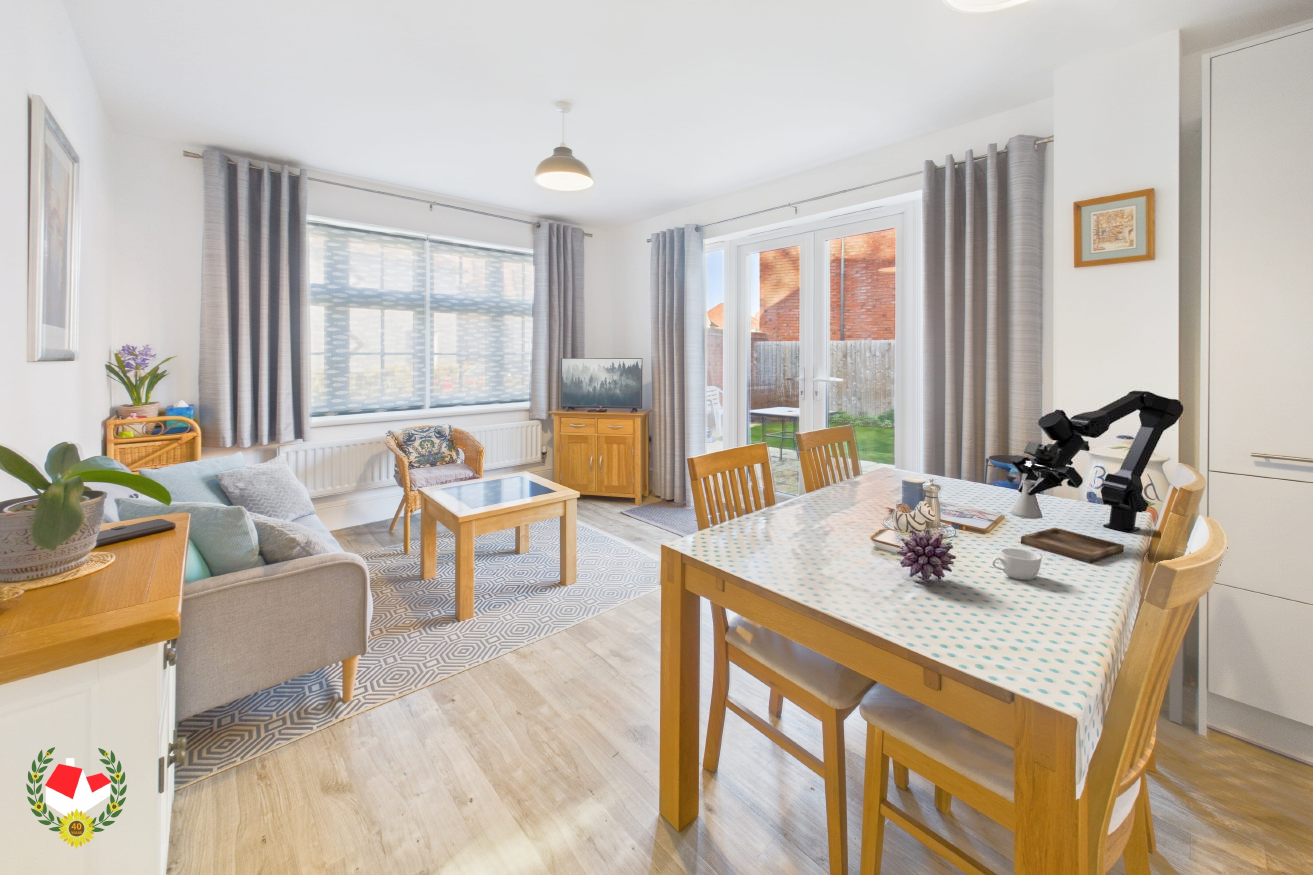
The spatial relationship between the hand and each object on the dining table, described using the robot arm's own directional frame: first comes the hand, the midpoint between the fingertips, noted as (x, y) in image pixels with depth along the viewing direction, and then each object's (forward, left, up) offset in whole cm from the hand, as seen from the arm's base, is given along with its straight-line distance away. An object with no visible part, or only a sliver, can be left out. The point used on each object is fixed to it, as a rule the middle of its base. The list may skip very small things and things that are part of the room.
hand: (1023, 492), depth 149 cm
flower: (+51, +8, -12) cm, 53 cm away
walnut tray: (-1, +12, -12) cm, 17 cm away
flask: (-1, 0, -7) cm, 7 cm away
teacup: (+31, +16, -12) cm, 37 cm away
